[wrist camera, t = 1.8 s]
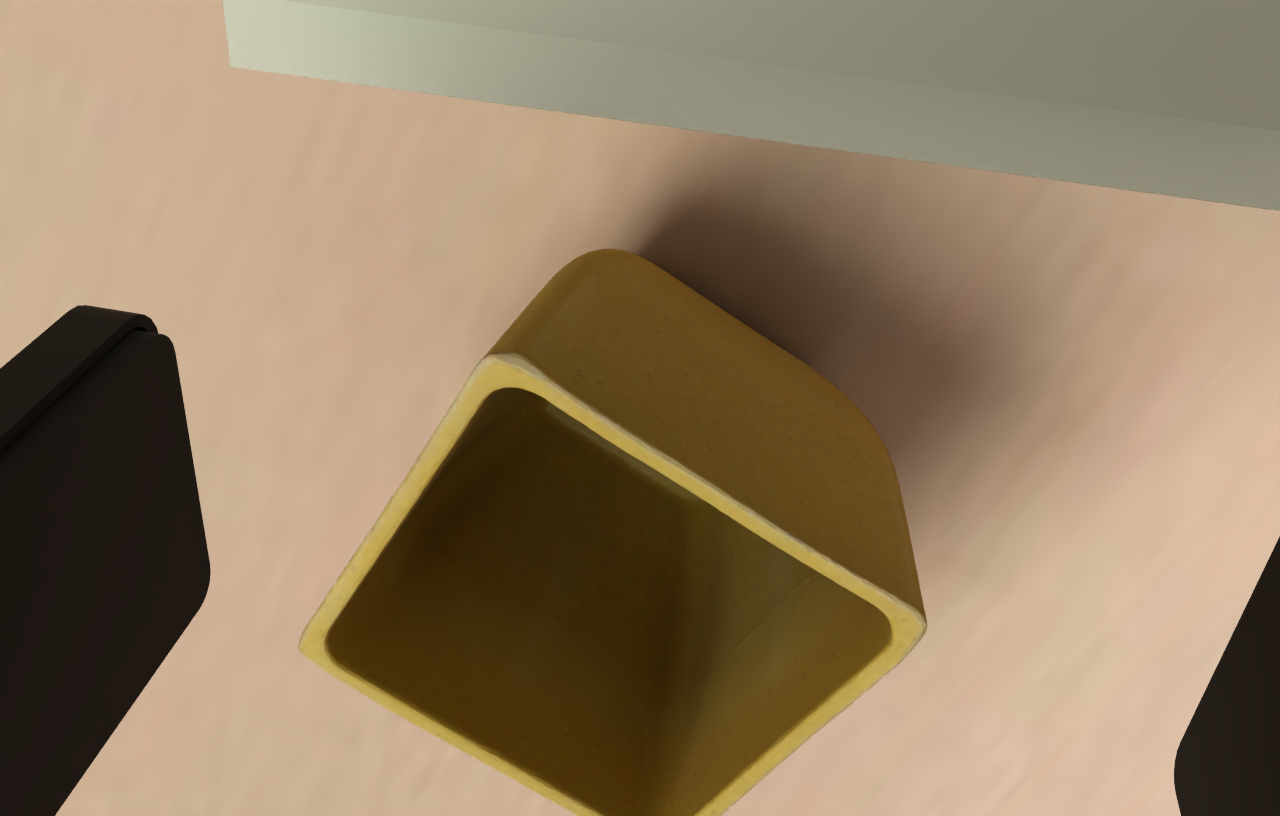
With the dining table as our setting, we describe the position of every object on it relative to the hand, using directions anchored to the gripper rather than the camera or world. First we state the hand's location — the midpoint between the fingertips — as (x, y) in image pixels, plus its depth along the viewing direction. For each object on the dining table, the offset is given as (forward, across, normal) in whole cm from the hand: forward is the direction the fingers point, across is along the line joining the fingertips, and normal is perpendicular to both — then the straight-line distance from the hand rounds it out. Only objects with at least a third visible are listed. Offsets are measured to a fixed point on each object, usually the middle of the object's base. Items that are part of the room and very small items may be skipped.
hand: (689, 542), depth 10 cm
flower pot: (+17, +2, +9) cm, 19 cm away
